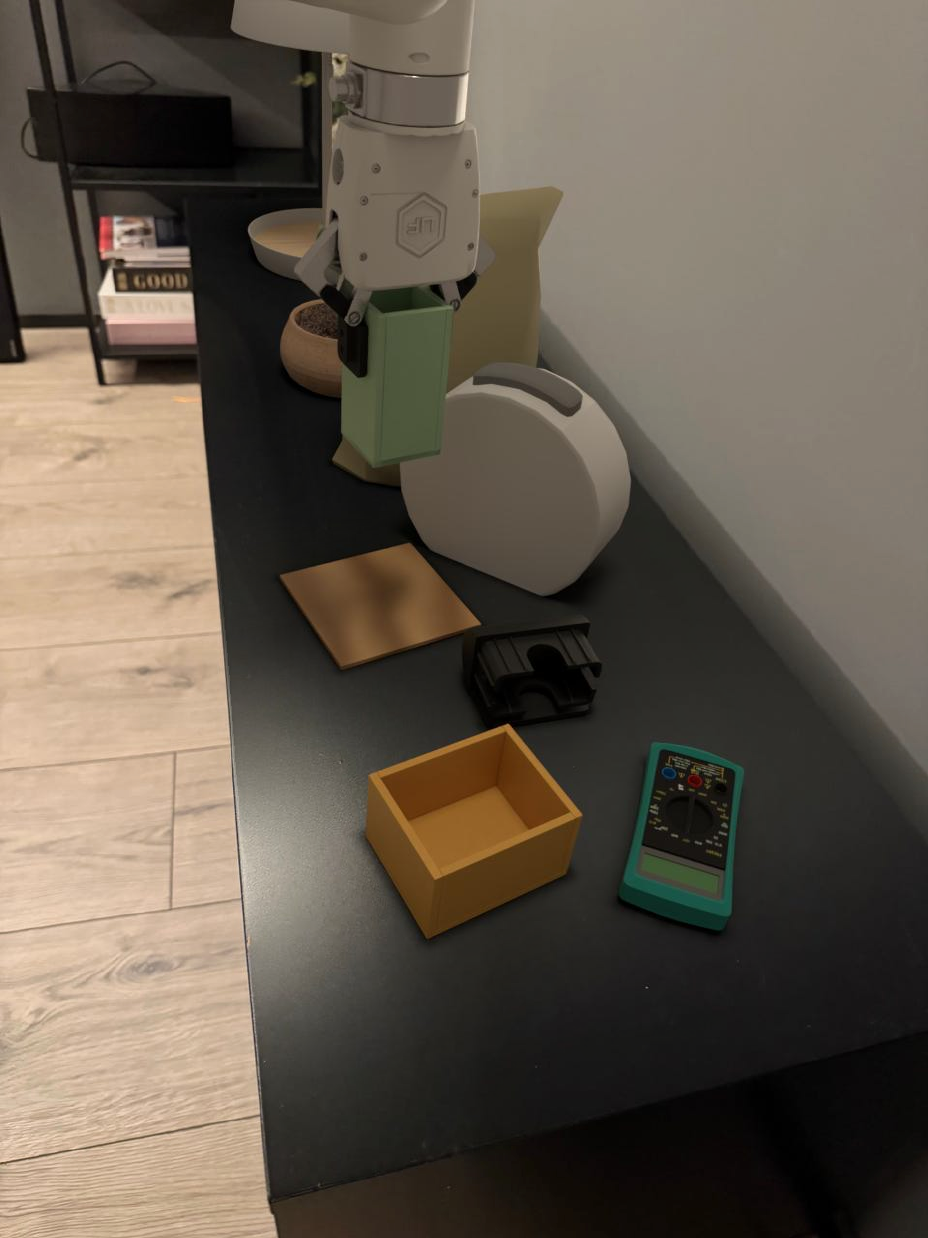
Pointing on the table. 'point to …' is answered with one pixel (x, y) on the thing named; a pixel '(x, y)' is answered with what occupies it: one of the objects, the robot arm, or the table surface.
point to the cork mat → (377, 604)
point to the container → (490, 304)
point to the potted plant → (313, 346)
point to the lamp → (324, 30)
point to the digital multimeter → (685, 836)
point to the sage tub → (400, 378)
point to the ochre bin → (469, 827)
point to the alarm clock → (520, 479)
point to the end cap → (530, 670)
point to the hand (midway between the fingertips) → (394, 361)
